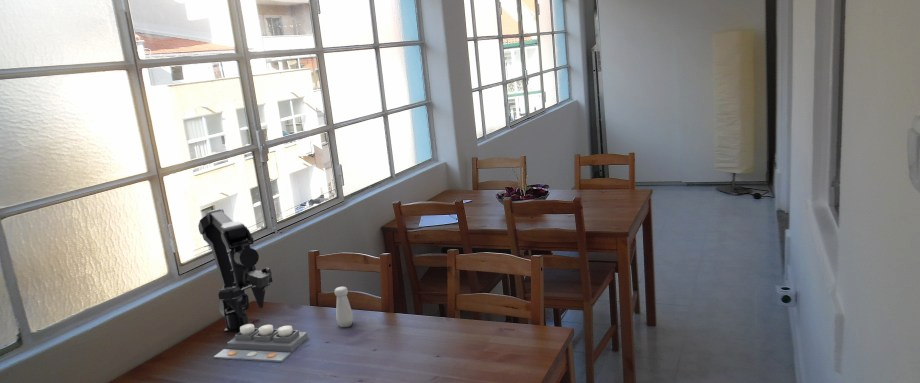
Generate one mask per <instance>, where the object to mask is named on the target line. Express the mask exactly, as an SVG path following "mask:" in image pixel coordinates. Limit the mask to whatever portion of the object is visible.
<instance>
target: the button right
mask: <svg viewBox="0 0 920 383" xmlns="http://www.w3.org/2000/svg"><path fill="white" fill-rule="evenodd" d="M277 329H278V334H279V336H281V337H285V336H289V335H291V334H292V333H293V330H294V329H293V326H292V325H283V326H280V327H278V328H277Z"/></svg>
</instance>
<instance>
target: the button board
mask: <svg viewBox="0 0 920 383" xmlns="http://www.w3.org/2000/svg"><path fill="white" fill-rule="evenodd" d="M254 329H255V331H254V332H253V333H251V334H248V335H242V334H241V333H240V332H237V333H235V335H234V337H233V338H231V340H229V341H227V342H226V343H227V349H232V350H250V351H269V352H288V353H293V352H294V351H295V350H296V349H297V348H299V346H301V345H302V344H303V343H304V342H305V341H306V340H307V339H309V336H308V331H299V330H298V329H292V330H293V333H292V334H291V335H289V336H285V337H281V336H279V334H278V328H273V330H274V332H273V333H272V334H270V335H266V336H261V335H260V334H259V328H256V327H254Z"/></svg>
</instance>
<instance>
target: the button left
mask: <svg viewBox="0 0 920 383" xmlns="http://www.w3.org/2000/svg"><path fill="white" fill-rule="evenodd" d="M254 328H255V325H254V324H253V323H250V324H246V325H243V326H241V327H240V333H241V334H242V335H248V334H251V333H253V332H254V331H255V329H254Z"/></svg>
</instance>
